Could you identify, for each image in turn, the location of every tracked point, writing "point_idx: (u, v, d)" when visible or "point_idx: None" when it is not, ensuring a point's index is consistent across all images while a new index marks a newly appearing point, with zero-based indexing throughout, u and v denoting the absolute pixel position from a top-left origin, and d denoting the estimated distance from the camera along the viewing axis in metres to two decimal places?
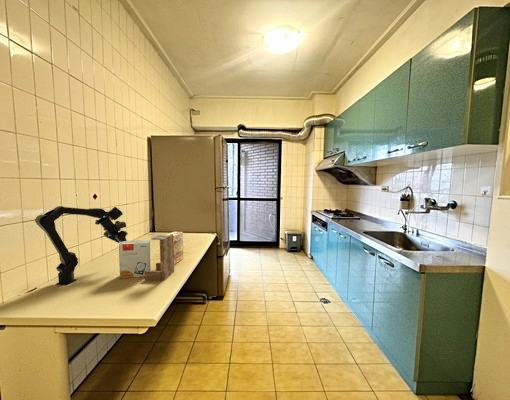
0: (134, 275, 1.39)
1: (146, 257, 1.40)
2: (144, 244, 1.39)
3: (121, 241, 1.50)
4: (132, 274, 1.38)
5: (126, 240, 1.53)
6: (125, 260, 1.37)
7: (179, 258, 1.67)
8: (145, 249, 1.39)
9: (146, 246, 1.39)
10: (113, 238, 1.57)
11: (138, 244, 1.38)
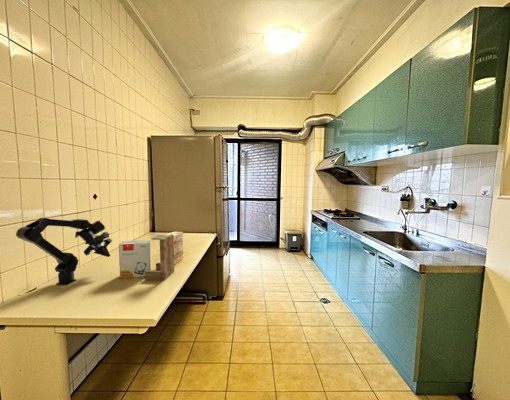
0: (134, 275, 1.39)
1: (146, 257, 1.40)
2: (144, 244, 1.39)
3: (99, 253, 1.40)
4: (132, 274, 1.38)
5: (105, 252, 1.41)
6: (125, 260, 1.37)
7: (179, 258, 1.67)
8: (145, 249, 1.39)
9: (146, 246, 1.39)
10: None
11: (138, 244, 1.38)
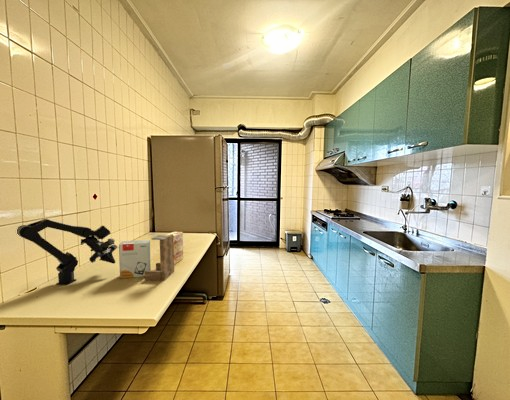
0: (134, 275, 1.39)
1: (146, 257, 1.40)
2: (144, 244, 1.39)
3: (104, 260, 1.41)
4: (132, 274, 1.38)
5: (111, 259, 1.41)
6: (125, 260, 1.37)
7: (179, 258, 1.67)
8: (145, 249, 1.39)
9: (146, 246, 1.39)
10: None
11: (138, 244, 1.38)
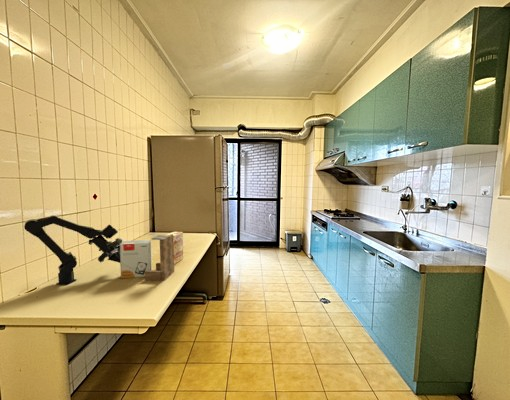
0: (135, 275, 1.38)
1: (147, 257, 1.39)
2: (145, 244, 1.39)
3: (113, 260, 1.41)
4: (133, 274, 1.38)
5: (119, 258, 1.41)
6: (126, 260, 1.37)
7: (179, 258, 1.67)
8: (146, 249, 1.39)
9: (147, 246, 1.39)
10: None
11: (139, 244, 1.38)
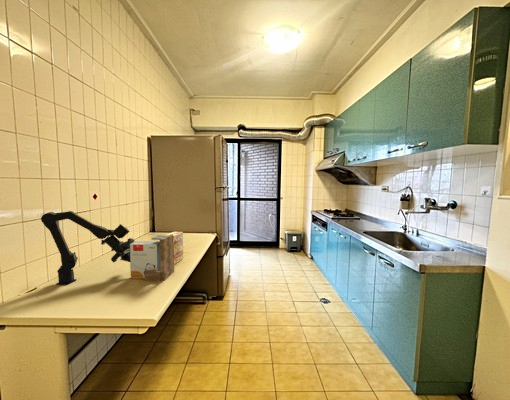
0: (144, 276, 1.37)
1: (155, 259, 1.36)
2: (153, 245, 1.35)
3: (125, 260, 1.40)
4: (142, 275, 1.37)
5: None
6: (135, 260, 1.36)
7: (179, 258, 1.67)
8: (154, 251, 1.36)
9: (155, 248, 1.35)
10: None
11: (147, 245, 1.35)
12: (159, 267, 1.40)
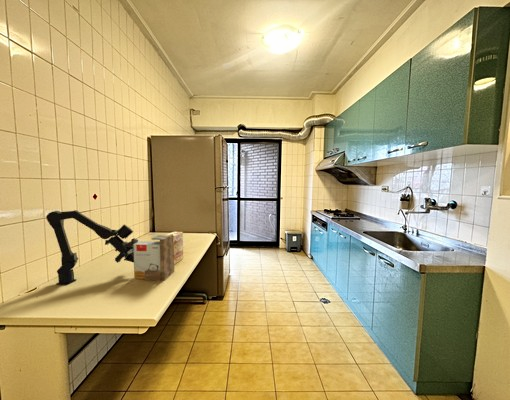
0: None
1: (158, 259, 1.35)
2: (156, 246, 1.35)
3: (129, 260, 1.40)
4: None
5: None
6: (139, 260, 1.36)
7: (179, 258, 1.67)
8: (157, 251, 1.35)
9: (158, 248, 1.35)
10: None
11: (150, 245, 1.35)
12: None
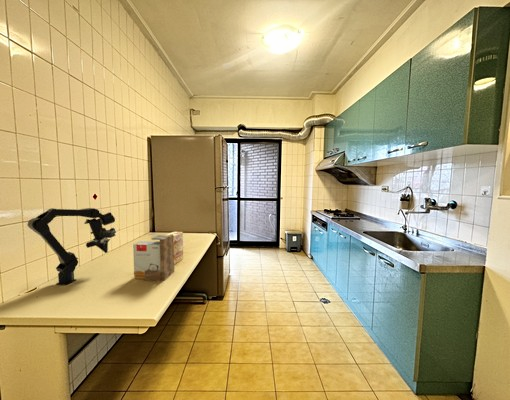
0: None
1: (158, 259, 1.35)
2: (156, 246, 1.35)
3: (98, 247, 1.44)
4: None
5: (105, 248, 1.45)
6: (139, 260, 1.36)
7: (179, 258, 1.67)
8: (157, 251, 1.35)
9: (158, 248, 1.35)
10: None
11: (151, 245, 1.35)
12: None
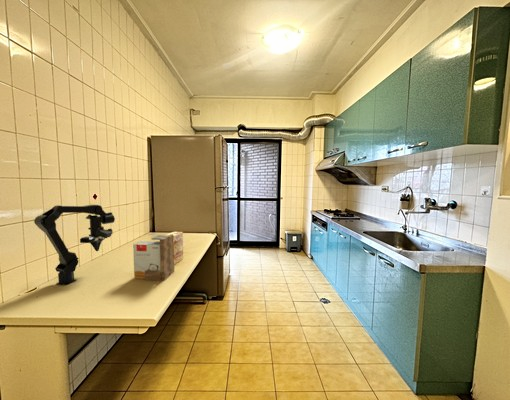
0: None
1: (158, 259, 1.35)
2: (156, 246, 1.35)
3: (91, 244, 1.45)
4: None
5: (97, 247, 1.45)
6: (139, 260, 1.36)
7: (179, 258, 1.67)
8: (157, 251, 1.35)
9: (158, 248, 1.35)
10: None
11: (151, 245, 1.35)
12: None
